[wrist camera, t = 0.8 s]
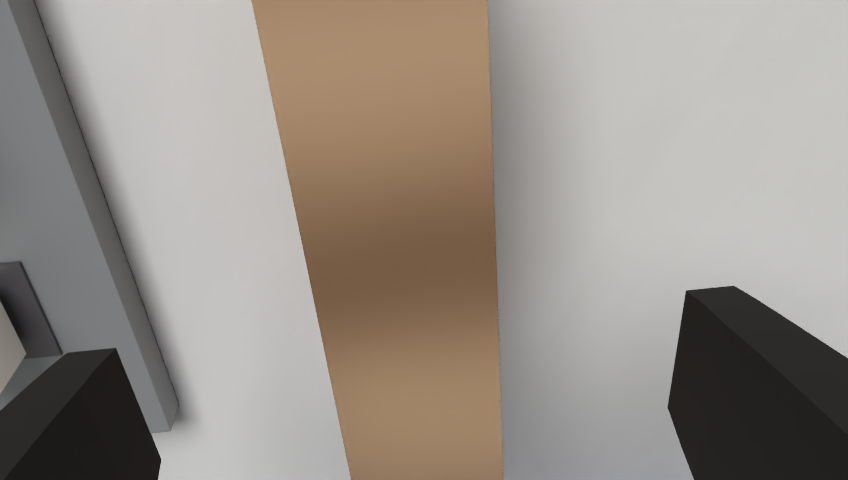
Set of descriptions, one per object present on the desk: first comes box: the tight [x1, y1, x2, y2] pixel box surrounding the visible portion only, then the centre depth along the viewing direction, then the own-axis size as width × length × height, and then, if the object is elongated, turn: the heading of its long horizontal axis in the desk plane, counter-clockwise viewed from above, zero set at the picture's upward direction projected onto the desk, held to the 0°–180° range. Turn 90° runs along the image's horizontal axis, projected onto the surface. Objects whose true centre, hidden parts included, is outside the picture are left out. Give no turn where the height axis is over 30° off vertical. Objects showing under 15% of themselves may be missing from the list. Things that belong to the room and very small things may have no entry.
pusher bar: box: [252, 0, 503, 480], centre depth 14 cm, size 12×3×6 cm, turn 5°
